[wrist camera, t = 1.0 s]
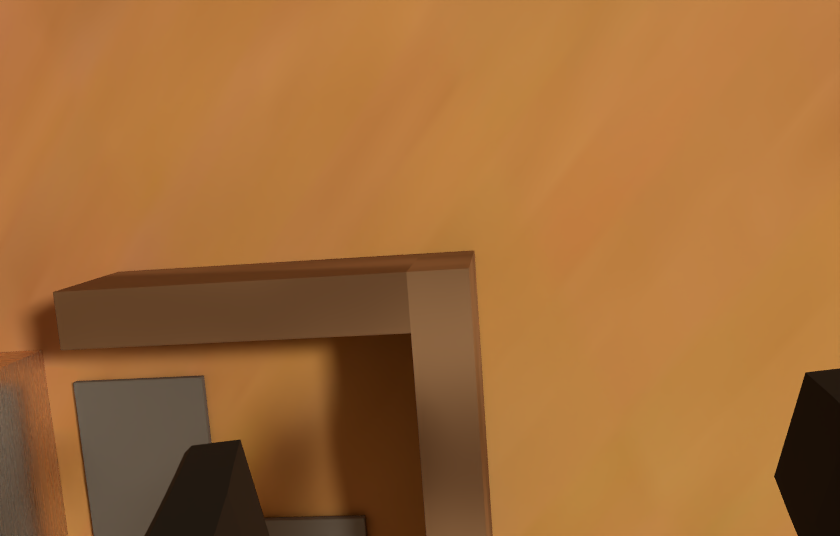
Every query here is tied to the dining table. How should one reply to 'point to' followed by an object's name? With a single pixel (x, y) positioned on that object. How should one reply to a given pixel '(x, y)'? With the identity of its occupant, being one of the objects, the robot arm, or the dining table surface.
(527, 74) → the dining table surface
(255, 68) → the dining table surface
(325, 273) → the corner jig
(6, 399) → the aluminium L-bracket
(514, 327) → the dining table surface
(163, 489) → the L-shaped mat
